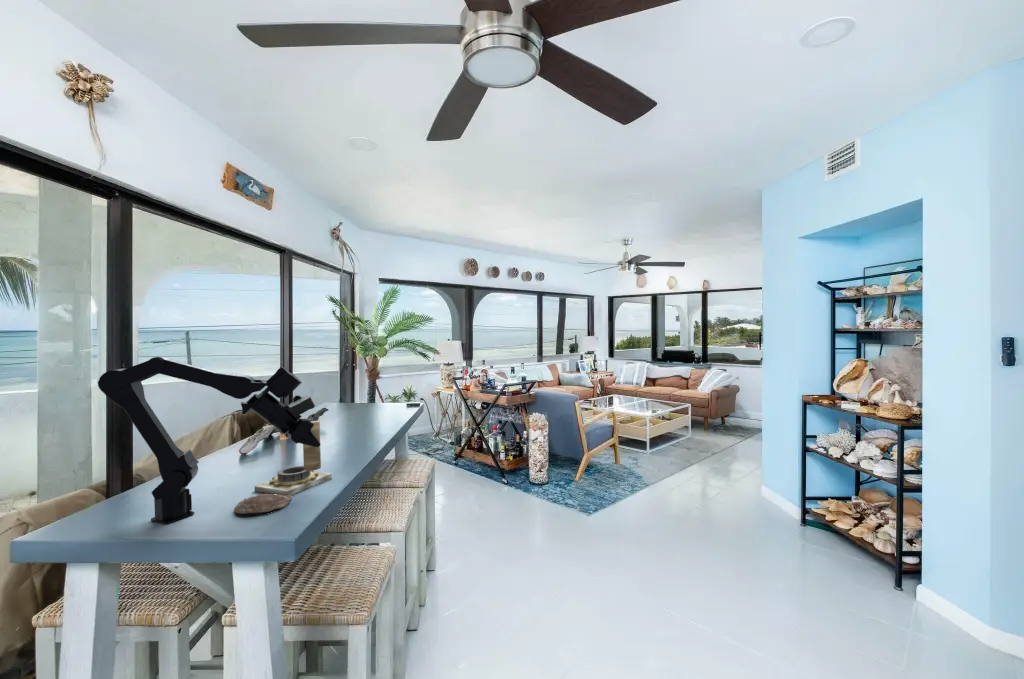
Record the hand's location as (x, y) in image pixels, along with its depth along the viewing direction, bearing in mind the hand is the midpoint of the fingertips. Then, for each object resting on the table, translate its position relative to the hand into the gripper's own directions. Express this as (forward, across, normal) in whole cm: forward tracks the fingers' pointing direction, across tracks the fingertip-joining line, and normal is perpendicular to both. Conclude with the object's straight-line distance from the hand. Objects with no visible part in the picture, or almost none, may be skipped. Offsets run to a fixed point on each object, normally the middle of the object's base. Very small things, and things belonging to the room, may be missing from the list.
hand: (316, 444), depth 126 cm
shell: (0, -2, +20) cm, 20 cm away
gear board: (+7, +11, +12) cm, 17 cm away
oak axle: (+4, 0, +6) cm, 7 cm away
